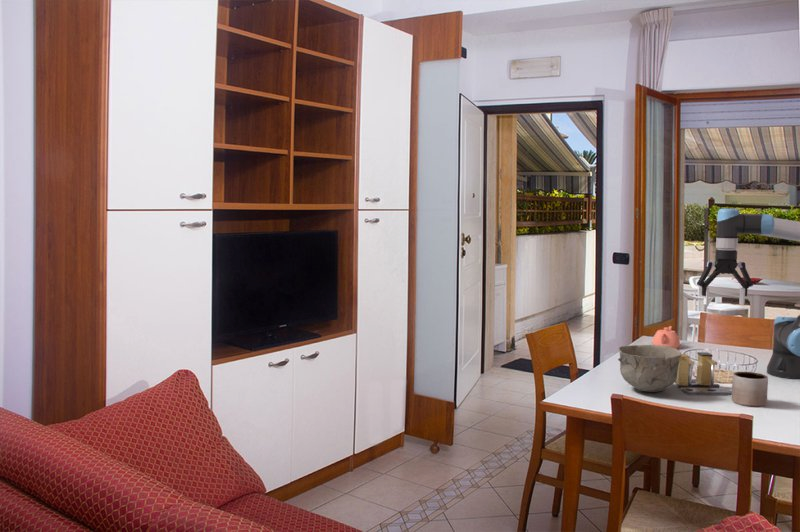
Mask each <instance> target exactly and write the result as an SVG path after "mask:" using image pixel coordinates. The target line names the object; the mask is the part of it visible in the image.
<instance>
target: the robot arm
mask: <svg viewBox="0 0 800 532" xmlns="http://www.w3.org/2000/svg"><path fill="white" fill-rule="evenodd" d="M716 219H717V220H716V238H715V239H716V241H715V248H716V249H715V253H714V254H715V257H714V258H715V261H714V262H712V261H707V262H706V264H705V268H704V270H702V274H701V275H700V277H699V278H698V280H697V283H696V286H699V287H701V296H702V297H703V302H702V303H703V305H706V306H709V300H710V288H709V285H710V284H711V283H713V281H714V280H715V279H716V278H717V277H718V276H719V275H720V274H722V275H725V274H727V275H732V276H733V277H734V278H735V280H736V281H737V282H738V283H739V284H740V286H741V287H739V303H738V304H739V305H740V306H745V301H746V298H745V297H747V296H748V289H749V288H751V287H753V286H754V283H753V282H752V280H751V277H750V274H749V272H748V270H747V268H746V266H747V265H746V262H744V261H740V262H737V260H738V250H737V249H738V243H739V235H759V236H765V237H770V238H775V239H776V238H777V239H781V240H787V241H794V242H795V241H796V242H800V221H797V220H792V219H785V218H777V217H774V216H773V215H772V214H768V213H767V214H766V213H747V212H745V213H741V212H740V209H739V208H720V209H718V210H717V217H716ZM713 268H715V269H714V270H713V271H712V273H711V274H710V275H709V273H710V272H711V270H712V269H713ZM737 268H739V270H740V272H741V274H742V276H741V275H740V274H739V272H738V271H737V270H736V269H737ZM772 340H773V342H772V343H773V344H772V354H771V357H770V359H769V362H768V363H767V365H766V374H768V375H771V376H774V377H780V378H783V379H785V378H786V379H795V380H797V379H800V314H798V315H797V317H795V316H794V317H793V316H776V317H775V318H774V322H773V338H772Z"/></svg>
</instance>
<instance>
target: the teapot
mask: <svg viewBox="0 0 800 532" xmlns="http://www.w3.org/2000/svg"><path fill="white" fill-rule="evenodd" d="M672 327H673V326H671V325H669V326H668V327H667V326H666V327H663V329H658V330H657V331H655V333H654V336H653V338H652V343H651V345H657V346H668V347H672V348H675V349H677V350H678V348H679V347H680V345H681V342H680V337H679V336H678V334H677V332H676V331H675V330H672V329H673V328H672Z"/></svg>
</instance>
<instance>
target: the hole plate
mask: <svg viewBox="0 0 800 532" xmlns="http://www.w3.org/2000/svg"><path fill="white" fill-rule="evenodd" d="M681 391H682V392H683V393H685V394H686V395H689V396H693V395H692V394H695V395H694V396H732V389H729V388H728V387H720V388H681ZM690 394H691V395H690ZM700 394H701V395H700Z"/></svg>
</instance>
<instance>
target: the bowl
mask: <svg viewBox="0 0 800 532" xmlns="http://www.w3.org/2000/svg"><path fill="white" fill-rule="evenodd" d="M618 351H619V358H618V359H617V360H618V362H620V363H619V364H620V365H619V372H620V374H621V376H622V379H623V380H624V381H625V382H626V383H627V384H628V385H630V386H631V387H633V388H635V389H637V390H638V391H642V392H645V393H647V392H648V393H657V392H663V391H665V390H667V389H669V388H670V387H671V386H672V385H673V384H675V380H676V379H677V371H678V365H679V360H680V357H681V355H682V354H683V353H682V352H681V351H680V349H678V348H677V349H675V348H672V347H668V346H657V345H652V344H638V345H635V344H634V345H621V346H619V347H618Z"/></svg>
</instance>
